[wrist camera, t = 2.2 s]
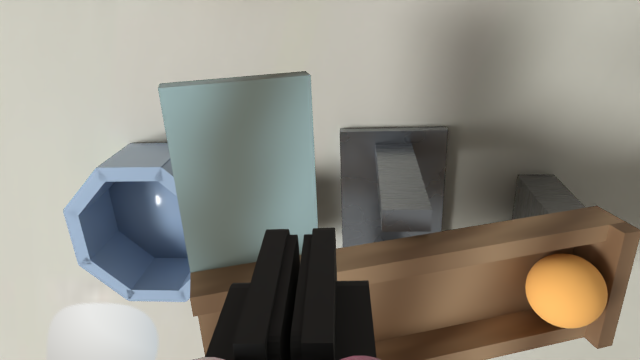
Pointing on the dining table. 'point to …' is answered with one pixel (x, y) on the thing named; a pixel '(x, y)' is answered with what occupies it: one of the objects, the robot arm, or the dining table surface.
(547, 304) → the ball
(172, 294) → the cup
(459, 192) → the dining table surface
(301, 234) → the lever
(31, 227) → the dining table surface
